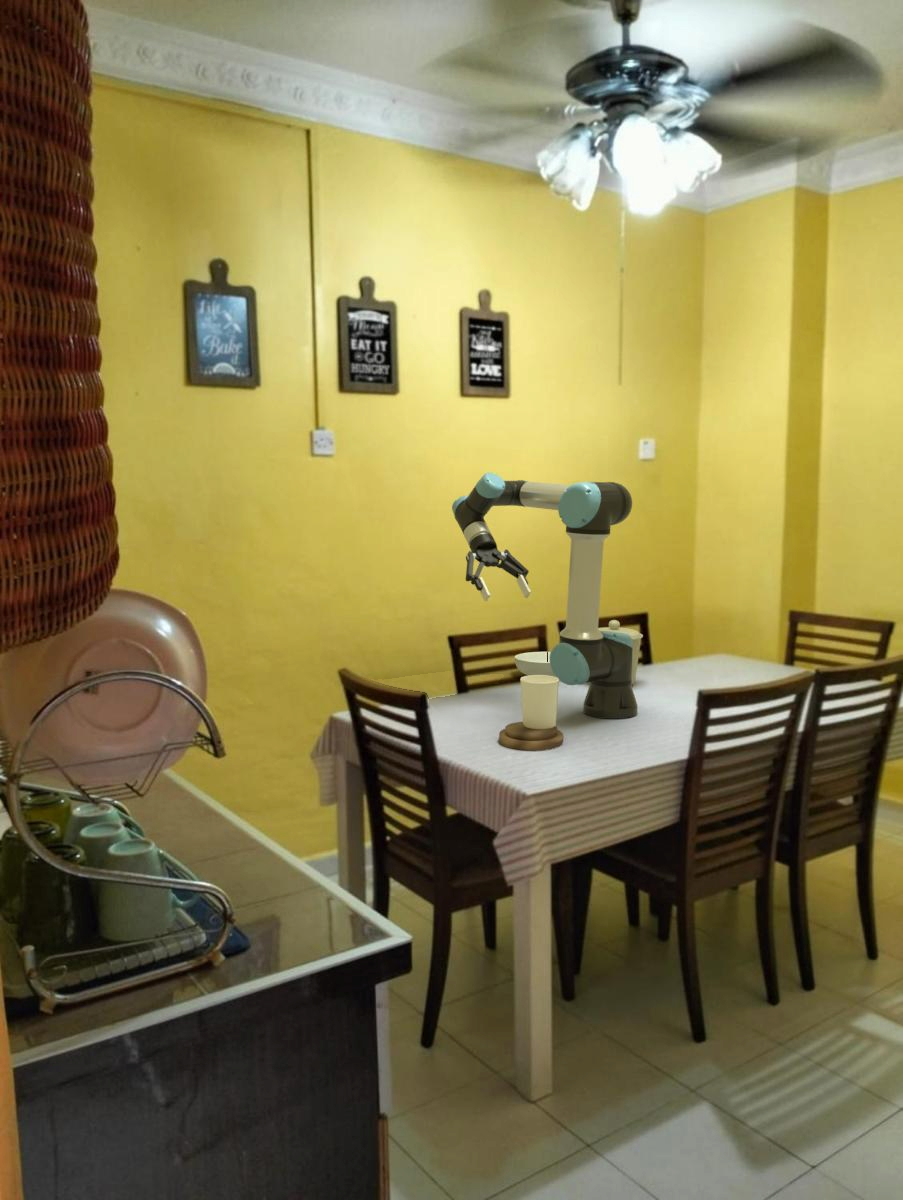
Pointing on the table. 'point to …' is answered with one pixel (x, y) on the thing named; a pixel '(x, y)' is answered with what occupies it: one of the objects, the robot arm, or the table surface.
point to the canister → (635, 642)
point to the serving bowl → (534, 663)
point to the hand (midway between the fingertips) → (508, 596)
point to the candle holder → (539, 701)
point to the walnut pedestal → (530, 737)
